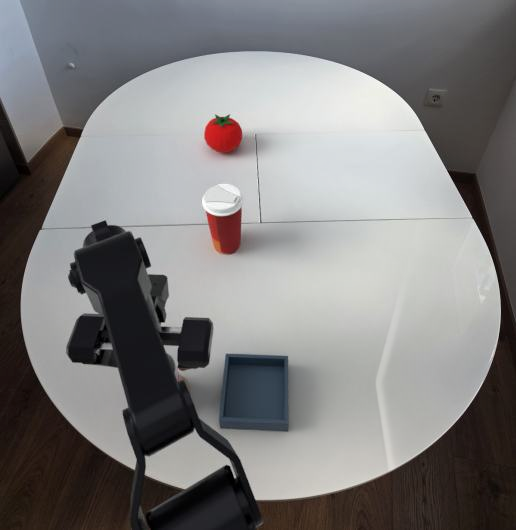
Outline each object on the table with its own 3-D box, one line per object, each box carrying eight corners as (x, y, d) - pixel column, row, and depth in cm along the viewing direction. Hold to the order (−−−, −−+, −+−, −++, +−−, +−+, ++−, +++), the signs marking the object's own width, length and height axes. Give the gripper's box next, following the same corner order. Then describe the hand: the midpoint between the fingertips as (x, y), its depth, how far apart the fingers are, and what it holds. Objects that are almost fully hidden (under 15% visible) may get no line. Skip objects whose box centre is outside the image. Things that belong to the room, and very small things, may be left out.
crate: (287, 431, 68) (288, 424, 66) (220, 428, 68) (218, 420, 66) (287, 364, 76) (288, 355, 73) (226, 362, 76) (225, 353, 74)
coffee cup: (251, 235, 97) (249, 187, 87) (236, 263, 92) (233, 215, 81) (217, 225, 99) (211, 177, 89) (201, 252, 94) (193, 204, 84)
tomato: (217, 133, 125) (214, 103, 119) (249, 142, 122) (248, 112, 115) (198, 153, 119) (194, 124, 112) (232, 164, 115) (230, 134, 108)
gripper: (213, 260, 59) (221, 318, 69) (79, 256, 59) (107, 314, 70) (202, 338, 51) (213, 390, 61) (46, 332, 51) (84, 384, 62)
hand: (153, 366), depth 64 cm, fingers open, 9 cm apart
